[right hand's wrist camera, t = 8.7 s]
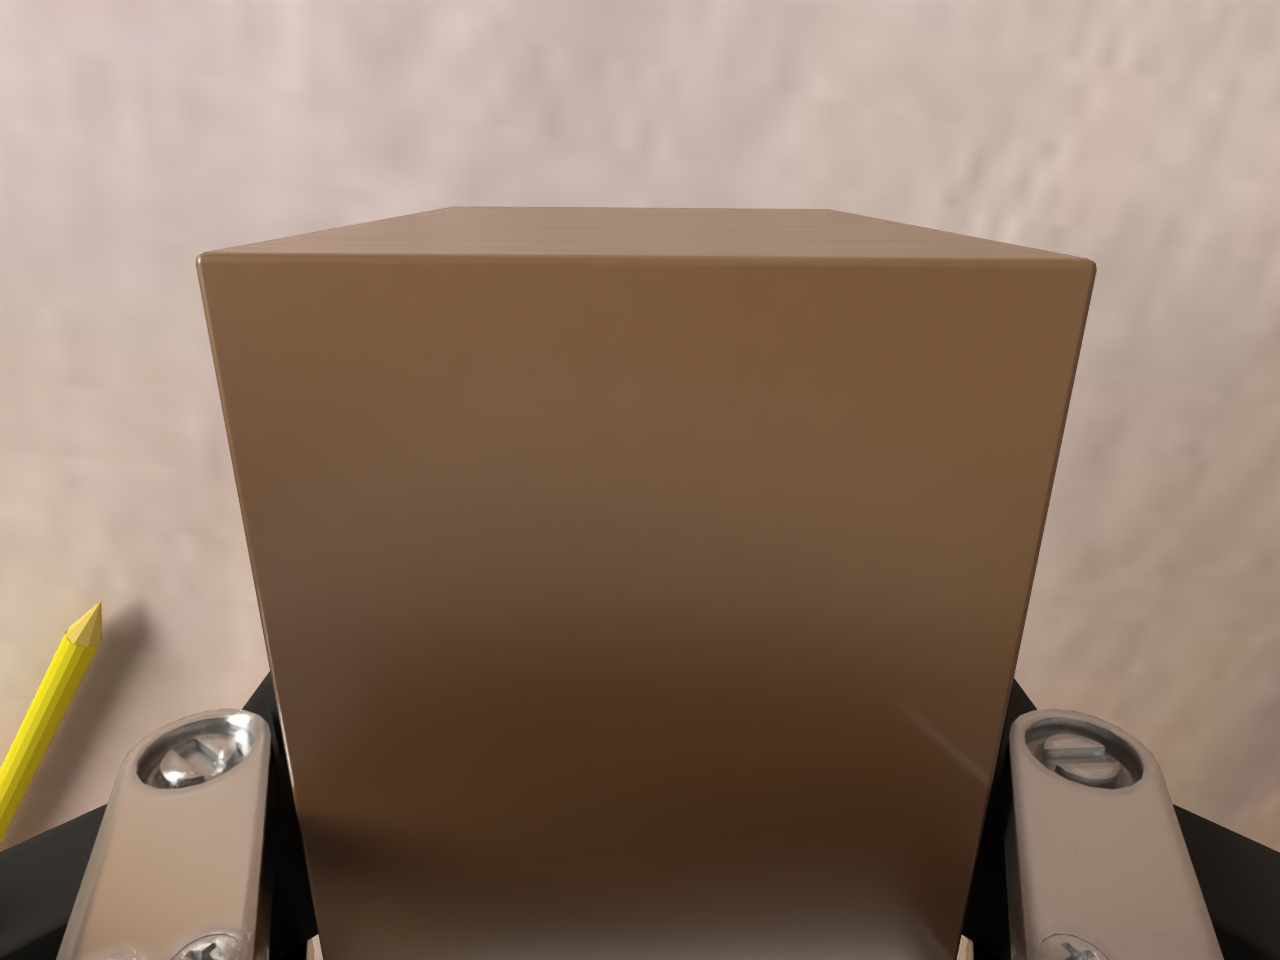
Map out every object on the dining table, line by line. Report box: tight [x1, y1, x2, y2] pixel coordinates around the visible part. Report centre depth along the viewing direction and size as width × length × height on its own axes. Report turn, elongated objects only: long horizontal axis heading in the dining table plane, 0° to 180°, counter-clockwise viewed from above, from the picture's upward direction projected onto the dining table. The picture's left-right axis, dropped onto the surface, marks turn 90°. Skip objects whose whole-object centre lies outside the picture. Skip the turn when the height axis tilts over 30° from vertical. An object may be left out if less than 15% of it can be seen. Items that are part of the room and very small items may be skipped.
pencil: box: [0, 601, 102, 844], centre depth 27 cm, size 16×1×1 cm, turn 146°
